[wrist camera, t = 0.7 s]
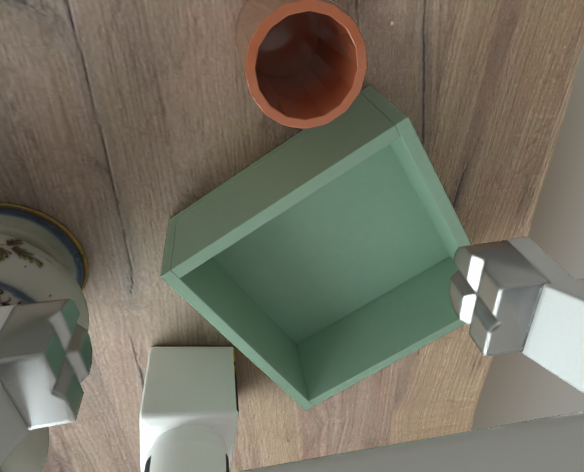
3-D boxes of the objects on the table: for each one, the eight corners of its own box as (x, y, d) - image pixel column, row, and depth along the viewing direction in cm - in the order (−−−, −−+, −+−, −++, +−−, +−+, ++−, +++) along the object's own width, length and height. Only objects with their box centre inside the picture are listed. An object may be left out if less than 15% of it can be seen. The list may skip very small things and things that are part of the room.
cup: (293, -36, 25) (329, -30, 18) (338, 48, 28) (386, 84, 21) (216, 21, 26) (220, 50, 19) (267, 98, 29) (288, 150, 22)
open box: (369, 84, 30) (408, 116, 24) (457, 251, 38) (501, 304, 33) (168, 219, 33) (159, 277, 27) (291, 347, 41) (305, 411, 35)
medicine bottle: (227, 399, 44) (234, 534, 33) (149, 401, 42) (131, 543, 32) (234, 344, 40) (243, 477, 30) (149, 344, 38) (129, 484, 28)
